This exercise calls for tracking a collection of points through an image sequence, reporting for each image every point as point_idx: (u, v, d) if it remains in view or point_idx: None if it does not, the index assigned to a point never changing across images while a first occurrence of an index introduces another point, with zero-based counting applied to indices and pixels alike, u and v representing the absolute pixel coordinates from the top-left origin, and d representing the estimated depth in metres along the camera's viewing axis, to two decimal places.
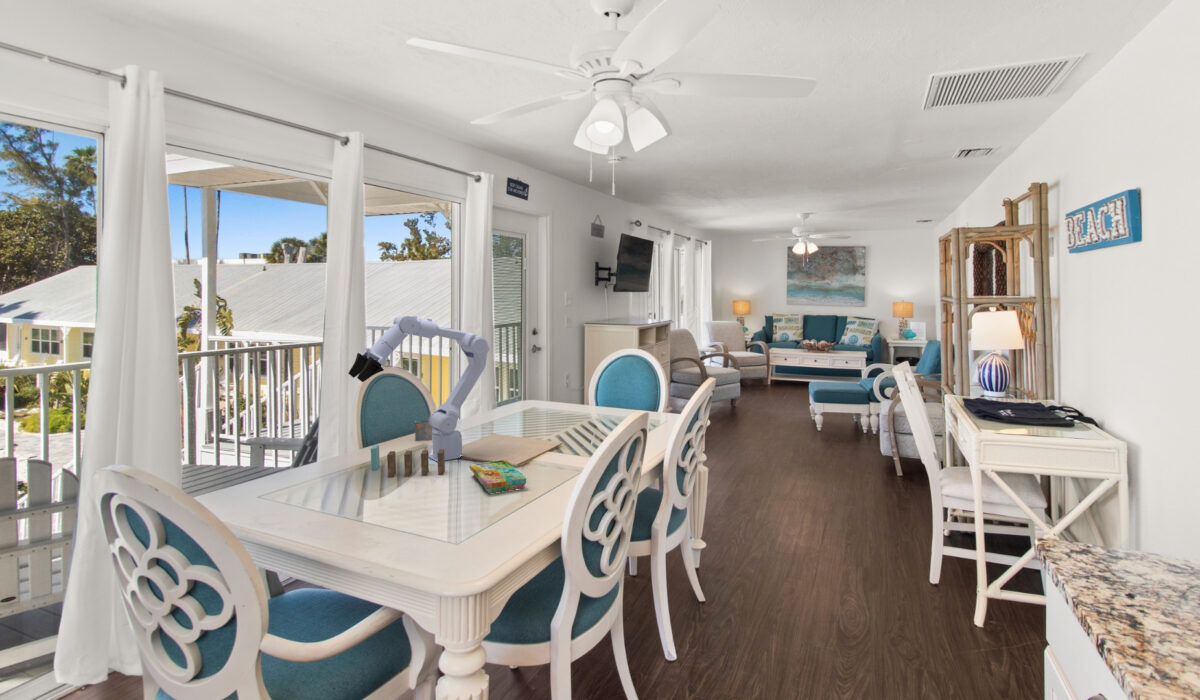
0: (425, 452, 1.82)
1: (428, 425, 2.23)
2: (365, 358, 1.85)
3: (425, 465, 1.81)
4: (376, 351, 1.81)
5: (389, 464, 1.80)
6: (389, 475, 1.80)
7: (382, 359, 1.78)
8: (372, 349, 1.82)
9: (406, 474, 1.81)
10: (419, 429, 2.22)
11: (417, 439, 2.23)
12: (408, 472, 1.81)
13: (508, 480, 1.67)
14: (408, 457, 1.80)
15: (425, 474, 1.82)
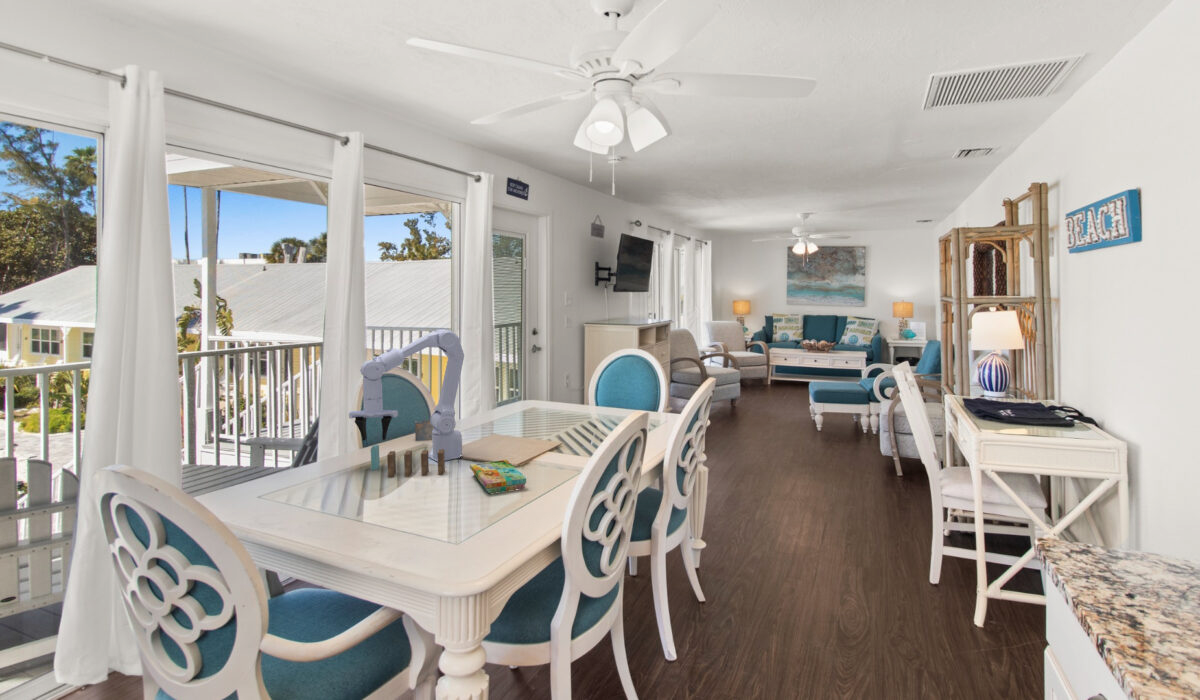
0: (425, 452, 1.82)
1: (428, 425, 2.23)
2: (363, 419, 1.87)
3: (425, 465, 1.81)
4: (379, 410, 1.86)
5: (389, 464, 1.80)
6: (389, 475, 1.80)
7: (396, 413, 1.88)
8: (374, 411, 1.85)
9: (406, 474, 1.81)
10: (419, 429, 2.22)
11: (417, 439, 2.23)
12: (408, 472, 1.81)
13: (508, 480, 1.67)
14: (408, 457, 1.80)
15: (425, 474, 1.82)
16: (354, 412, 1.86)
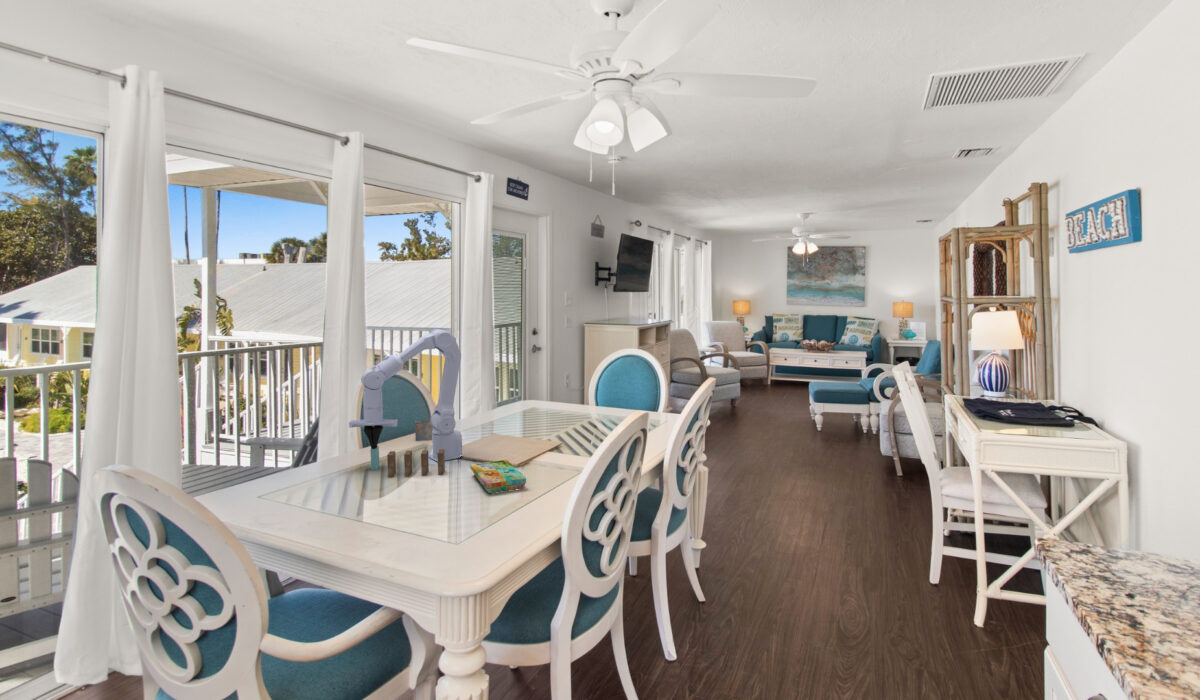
0: (425, 452, 1.82)
1: (428, 425, 2.23)
2: (372, 428, 1.88)
3: (425, 465, 1.81)
4: (379, 419, 1.86)
5: (389, 464, 1.80)
6: (389, 475, 1.80)
7: (396, 422, 1.88)
8: (374, 420, 1.85)
9: (406, 474, 1.81)
10: (419, 429, 2.22)
11: (417, 439, 2.23)
12: (408, 472, 1.81)
13: (508, 480, 1.67)
14: (408, 457, 1.80)
15: (425, 474, 1.82)
16: (354, 421, 1.87)
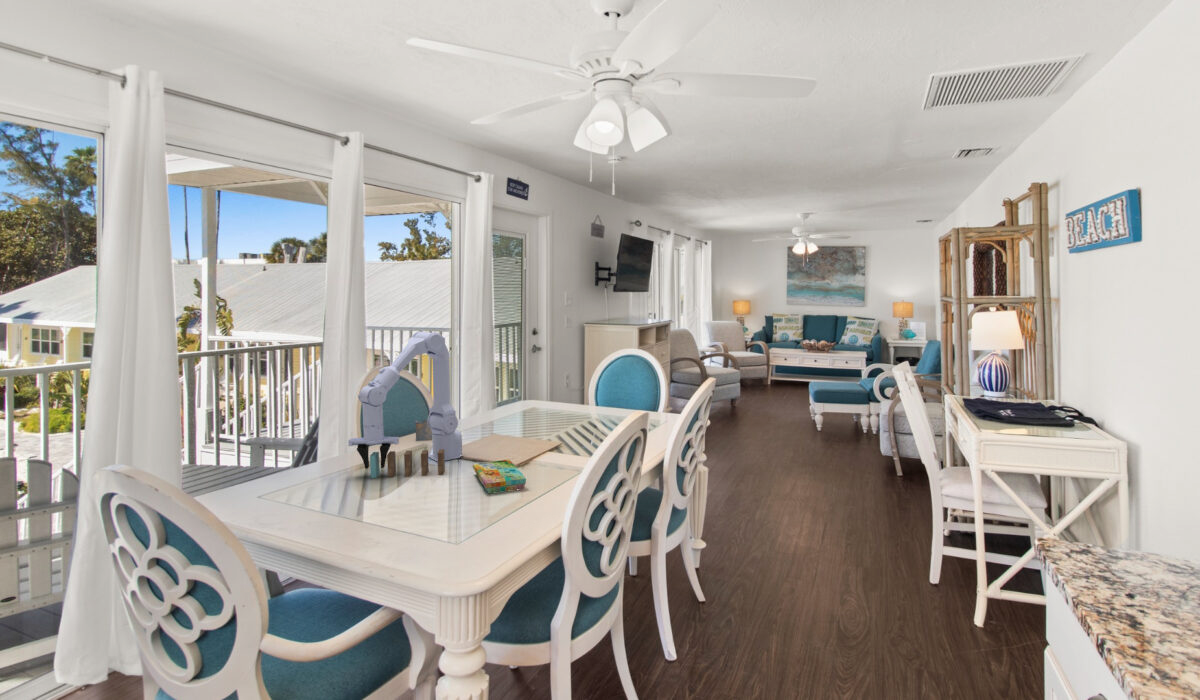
0: (425, 452, 1.82)
1: None
2: (366, 446, 1.80)
3: (425, 465, 1.81)
4: (380, 437, 1.79)
5: (389, 464, 1.80)
6: (389, 475, 1.80)
7: (397, 440, 1.81)
8: (375, 439, 1.78)
9: (406, 474, 1.81)
10: (420, 429, 2.22)
11: (418, 439, 2.23)
12: (408, 472, 1.81)
13: (507, 480, 1.67)
14: (408, 457, 1.80)
15: (425, 474, 1.82)
16: (354, 439, 1.79)
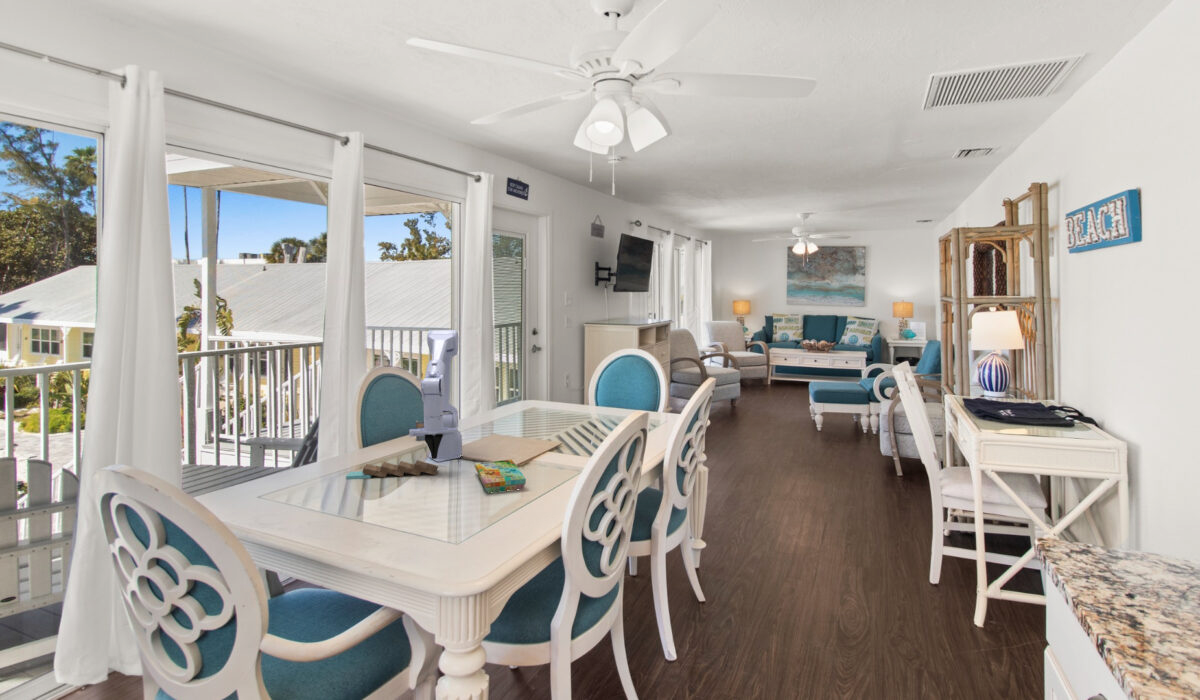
0: (399, 465, 1.82)
1: None
2: (433, 436, 1.83)
3: (410, 469, 1.81)
4: (440, 428, 1.81)
5: (372, 473, 1.79)
6: (384, 475, 1.80)
7: (457, 430, 1.83)
8: (435, 429, 1.80)
9: (401, 474, 1.81)
10: None
11: (418, 439, 2.23)
12: (399, 472, 1.80)
13: (507, 480, 1.67)
14: (384, 467, 1.80)
15: (419, 472, 1.81)
16: (414, 430, 1.82)
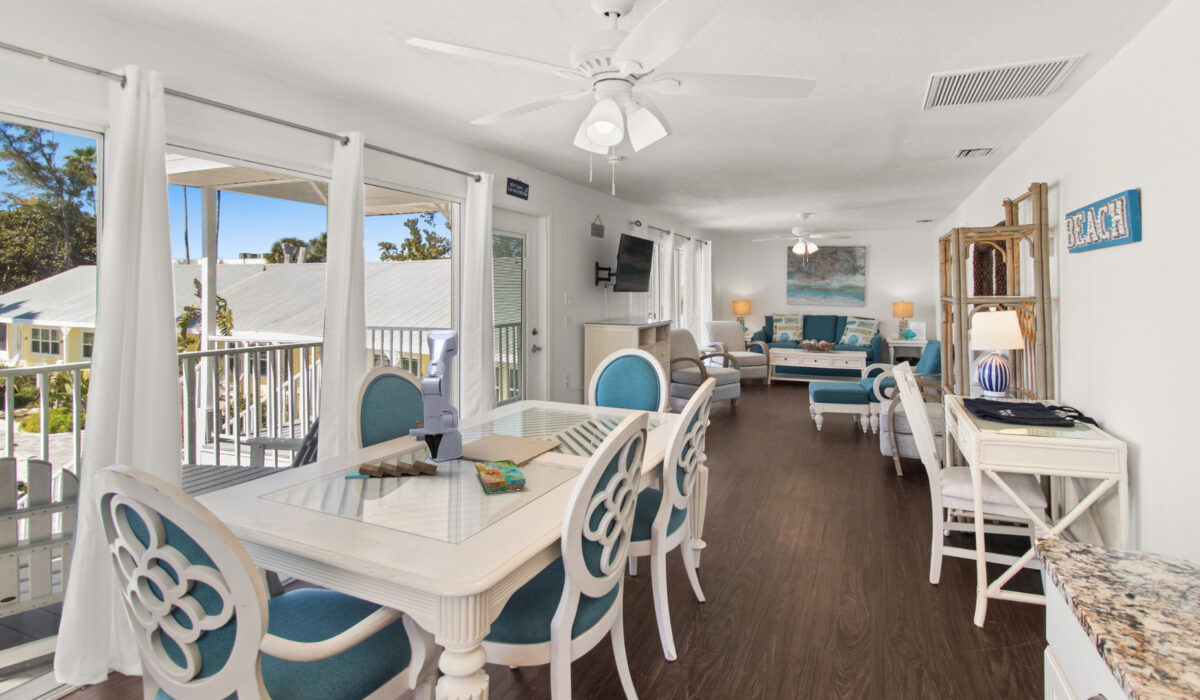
0: (397, 465, 1.82)
1: None
2: (433, 436, 1.83)
3: (408, 469, 1.81)
4: (440, 428, 1.81)
5: (368, 472, 1.79)
6: (380, 475, 1.80)
7: (457, 430, 1.83)
8: (435, 429, 1.80)
9: (398, 474, 1.80)
10: None
11: (418, 439, 2.23)
12: (397, 472, 1.80)
13: (507, 480, 1.67)
14: (381, 468, 1.79)
15: (418, 472, 1.81)
16: (414, 430, 1.82)
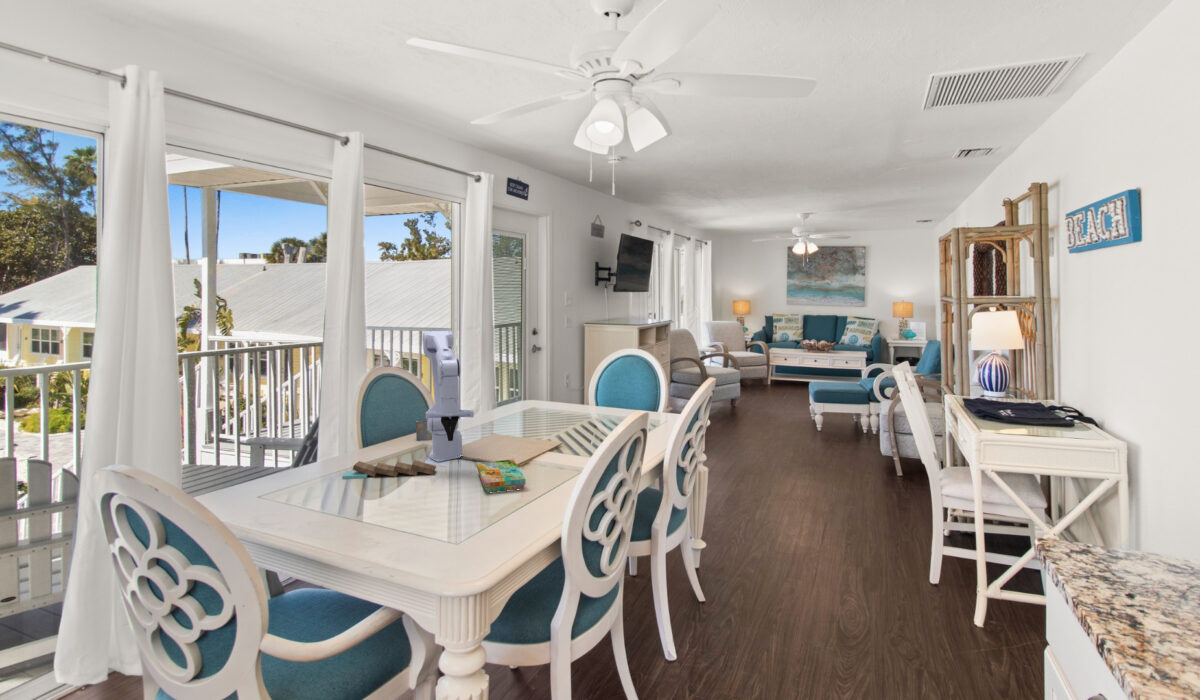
0: None
1: None
2: (449, 419, 1.83)
3: (406, 469, 1.81)
4: (456, 410, 1.81)
5: (362, 471, 1.80)
6: (373, 474, 1.80)
7: (473, 413, 1.84)
8: (452, 411, 1.80)
9: (394, 474, 1.80)
10: (420, 429, 2.23)
11: (418, 439, 2.23)
12: (393, 472, 1.80)
13: (507, 480, 1.67)
14: (377, 468, 1.79)
15: (416, 472, 1.81)
16: (430, 412, 1.82)
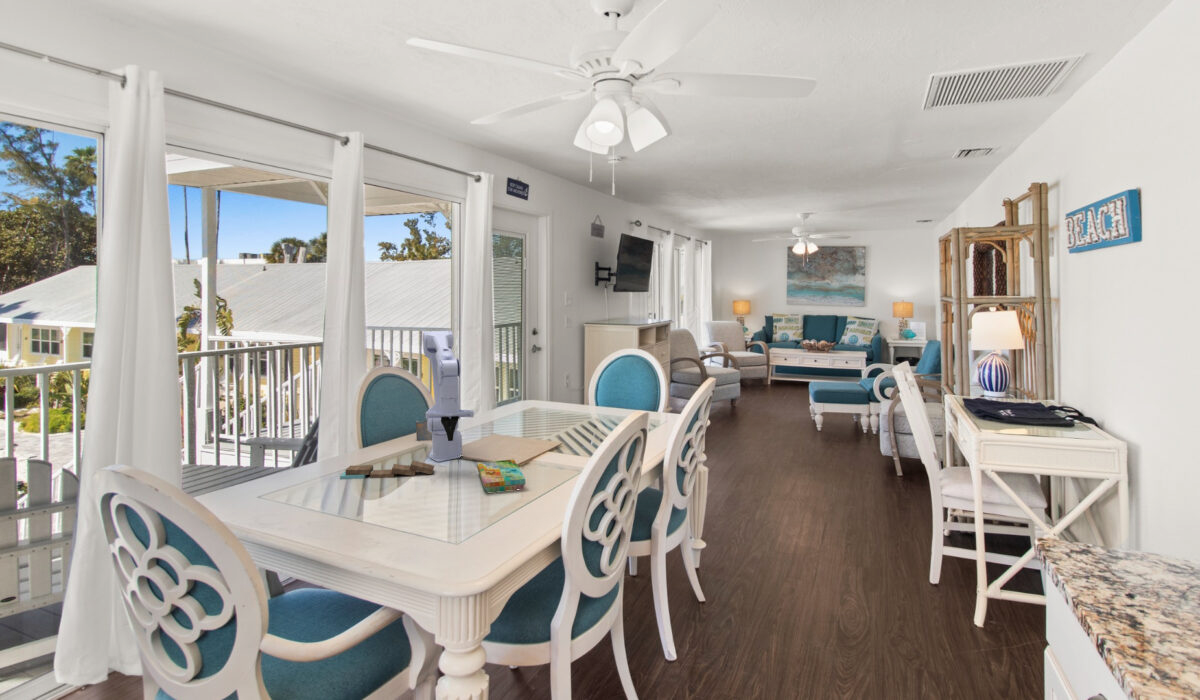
0: None
1: None
2: (449, 419, 1.83)
3: (404, 470, 1.81)
4: (456, 410, 1.81)
5: (355, 472, 1.79)
6: (367, 473, 1.80)
7: (473, 413, 1.84)
8: (452, 411, 1.80)
9: None
10: (420, 429, 2.23)
11: (418, 439, 2.23)
12: (389, 475, 1.80)
13: (507, 480, 1.67)
14: (373, 475, 1.79)
15: (414, 472, 1.81)
16: (430, 412, 1.82)
